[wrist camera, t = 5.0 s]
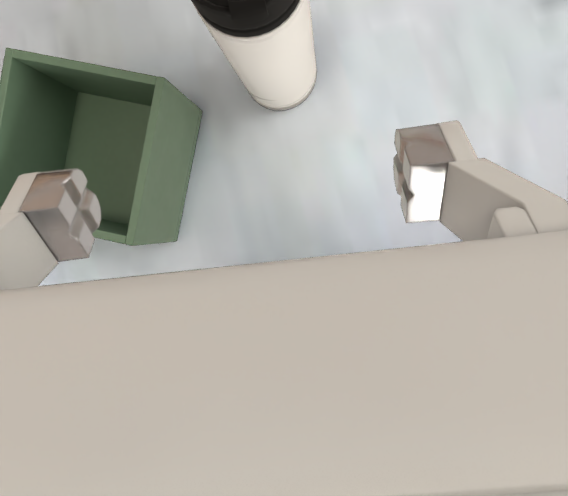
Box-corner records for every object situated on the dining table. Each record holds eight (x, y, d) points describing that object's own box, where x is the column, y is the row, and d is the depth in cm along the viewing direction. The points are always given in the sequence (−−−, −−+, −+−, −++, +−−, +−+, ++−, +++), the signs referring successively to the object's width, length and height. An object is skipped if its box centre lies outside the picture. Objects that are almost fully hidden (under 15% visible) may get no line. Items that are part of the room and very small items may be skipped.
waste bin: (202, 110, 43) (164, 77, 33) (177, 241, 44) (132, 245, 34) (77, 86, 44) (5, 47, 34) (54, 214, 45) (-23, 211, 35)
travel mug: (253, 122, 43) (184, 33, 23) (238, 47, 43) (155, -109, 23) (324, 106, 42) (316, 0, 22) (308, 29, 42) (287, -147, 22)
